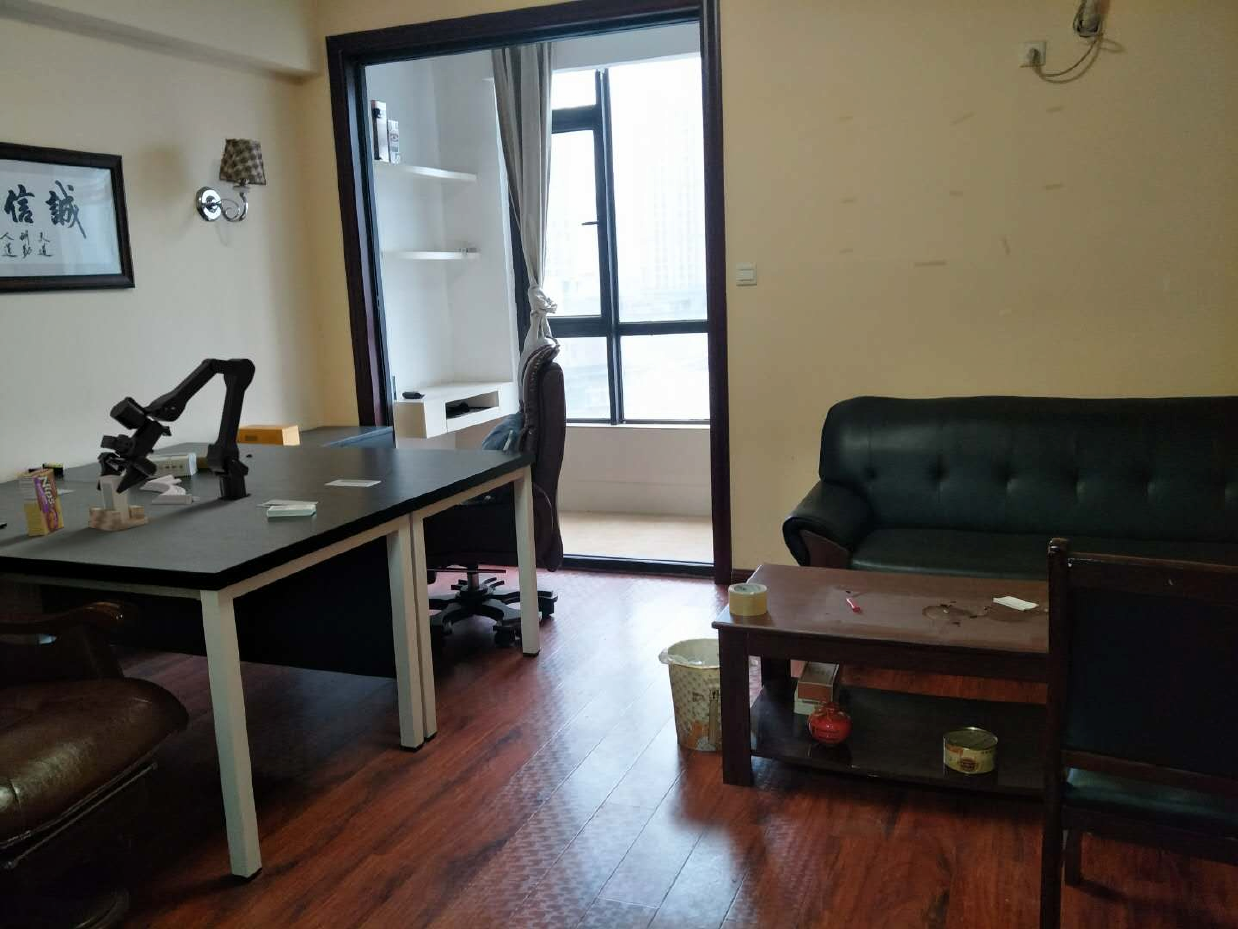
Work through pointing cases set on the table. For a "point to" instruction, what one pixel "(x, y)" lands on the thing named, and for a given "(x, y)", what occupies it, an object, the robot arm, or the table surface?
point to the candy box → (41, 502)
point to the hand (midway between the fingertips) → (107, 491)
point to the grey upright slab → (114, 496)
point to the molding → (169, 491)
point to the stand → (116, 518)
